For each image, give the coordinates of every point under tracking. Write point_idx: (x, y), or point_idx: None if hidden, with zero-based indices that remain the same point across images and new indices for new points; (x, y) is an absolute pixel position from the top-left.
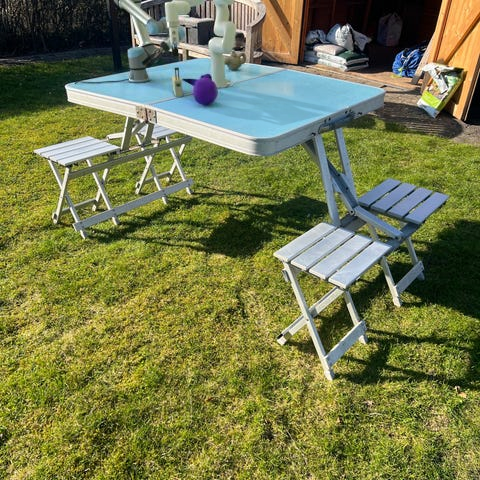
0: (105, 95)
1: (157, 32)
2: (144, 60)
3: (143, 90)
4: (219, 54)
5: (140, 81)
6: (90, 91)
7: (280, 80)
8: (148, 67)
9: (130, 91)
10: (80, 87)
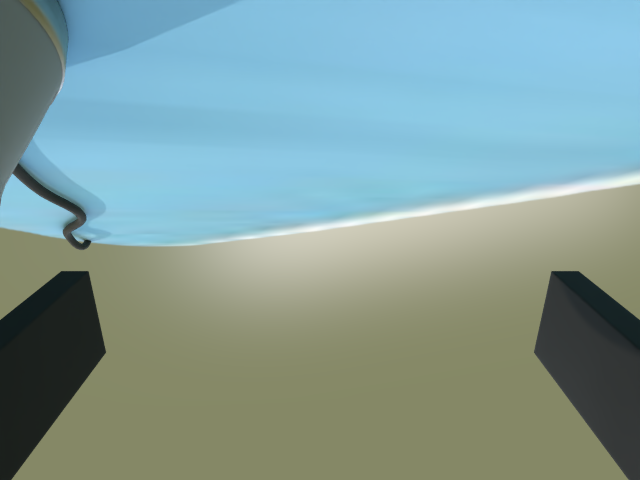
0: (488, 197)
1: None
2: (55, 409)
3: (626, 34)
4: None
5: (50, 8)
6: (324, 220)
7: None
8: (577, 280)
9: (523, 119)
10: (195, 233)
